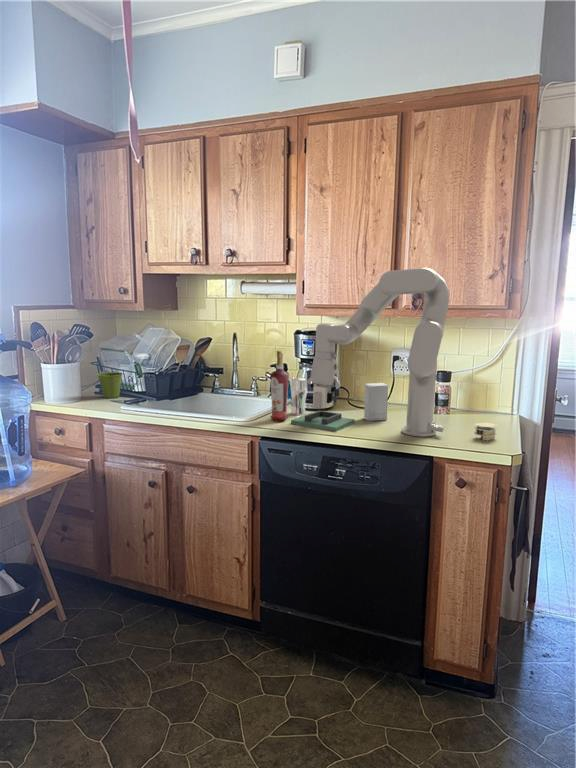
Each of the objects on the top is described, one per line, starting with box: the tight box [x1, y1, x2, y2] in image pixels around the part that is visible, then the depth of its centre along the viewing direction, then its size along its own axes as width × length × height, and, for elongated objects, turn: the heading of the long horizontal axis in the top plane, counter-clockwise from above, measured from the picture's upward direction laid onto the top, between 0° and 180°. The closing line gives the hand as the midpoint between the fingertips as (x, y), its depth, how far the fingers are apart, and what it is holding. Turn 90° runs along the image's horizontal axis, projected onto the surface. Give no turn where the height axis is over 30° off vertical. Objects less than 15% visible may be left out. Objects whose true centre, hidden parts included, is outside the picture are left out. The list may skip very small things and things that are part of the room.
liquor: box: [270, 350, 290, 422], centre depth 210 cm, size 7×7×28 cm
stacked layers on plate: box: [473, 422, 498, 441], centre depth 190 cm, size 10×9×6 cm
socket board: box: [290, 410, 356, 432], centre depth 208 cm, size 20×16×4 cm
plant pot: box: [96, 371, 124, 399], centre depth 252 cm, size 12×12×11 cm
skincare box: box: [363, 382, 389, 422], centre depth 215 cm, size 8×6×15 cm
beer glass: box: [290, 377, 308, 416], centre depth 223 cm, size 7×7×15 cm
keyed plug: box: [312, 385, 334, 409], centre depth 206 cm, size 5×9×8 cm, turn 147°
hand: (323, 401), depth 207 cm, fingers closed on keyed plug, 4 cm apart
